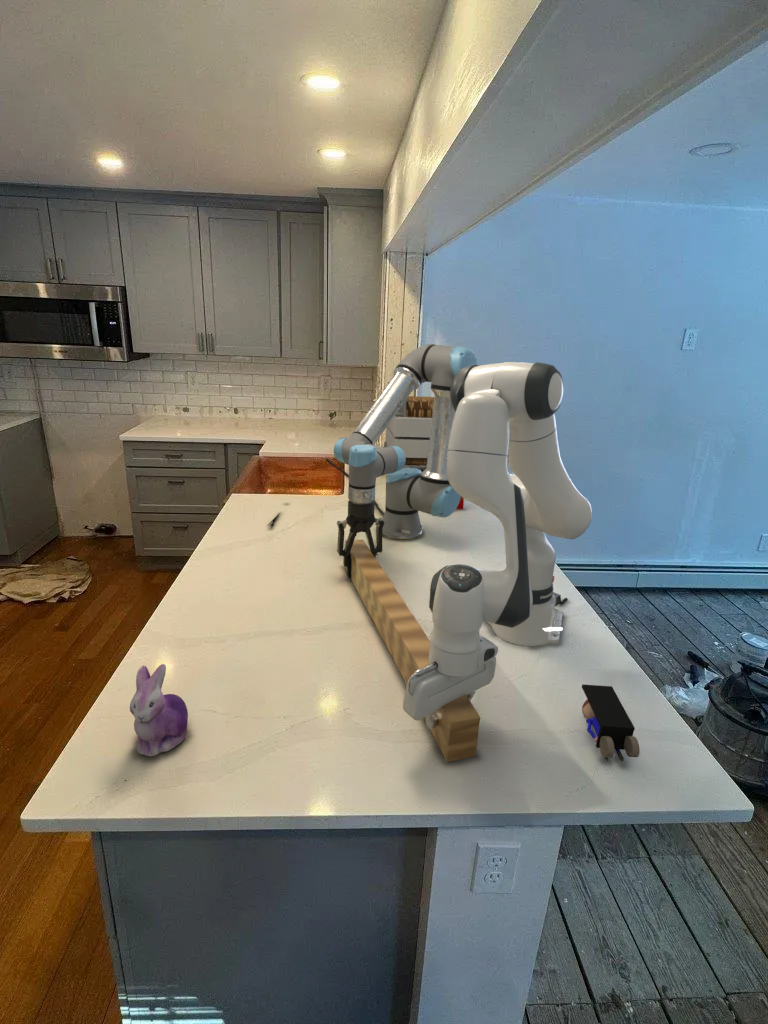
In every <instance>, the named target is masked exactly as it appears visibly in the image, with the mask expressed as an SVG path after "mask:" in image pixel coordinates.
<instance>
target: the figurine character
mask: <svg viewBox="0 0 768 1024" xmlns="http://www.w3.org/2000/svg"><path fill="white" fill-rule="evenodd" d="M581 688H582V691H583V693H584V695H585V697H586V700H585V701H584V702H583V704H582V707H581V713H582V715H583V717H584V718H585V721H586V723H587V732H588V734H589V735H590V736H591V738H592V739H593V741H594V742H595V748H596V749H599V751H600V754H601V755H602V757H603V760H605V761H606V762H609V759H613V758H614V756H615V752H616V755H617V757H618V760H619V761H620V762H624V761H625V757H624V754H623V753H622V751H624V752H625V754H626V756H627V757H628V758H639V756H640V754H641V753H640V752H641V748H640V743H639V740H638V738H637V737H636V736H634V733H635V730H636V728H635V726H634V724H633V722H632V720H631V718H630V717H629V715H628V713H627V711H626V708H625V707H624V706H623V703H622V702H621V700H620V698H619V696H618V695H617V692H616V691H615V689H614V687H613V686H611V685H598V684H581ZM592 728H593V730H594V731H593V730H592ZM621 750H622V751H621Z"/></svg>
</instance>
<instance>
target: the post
mask: <svg viewBox="0 0 768 1024" xmlns="http://www.w3.org/2000/svg"><path fill="white" fill-rule="evenodd" d="M346 542H347V540H344V546H345V545H346ZM350 556H351V578H350V580H351V582H352V584H353V586H354V588H355V589H356V591H357V593H358V595H359V598H360V599H361V602H362V603H363V605H364V607H365V609H366V611H367V612H368V615H369V616H370V618H371V620H372V622H373V624H374V626H375V627H376V629H377V631H378V633H379V636H380V637H381V639H382V641H383V643H384V644H385V647H386V649H387V651H388V652H389V654H390V656H391V658H392V660H393V662H394V664H395V666H396V667H397V670H398V671H399V674H400V676H401V677H402V679H403V681H404V683H405V685H406V686H407V683H408V680H409V678H410V677H411V676H412V675H413V674H415V671H416V670H418V669H420V668H424V667H425V666H427V665H429V664H430V663H429V648H430V638H429V637H428V635H427V634H426V633H425V630H423V628H422V626H421V625H420V623H419V622H418V621H417V619H416V617H415V616H414V614H413V612H412V611H411V610H410V608H409V607H408V605H407V604H406V602H405V601H404V599H403V598H402V596H401V594H400V592H398V590H397V589H396V587H395V585H394V584H393V583H392V581H391V579H390V578H389V576H388V575H387V573H386V572H385V570H384V569H383V567H382V565H380V563H379V561H378V560H377V557H376V558H375V557H374V555H373V554H372V552H371V551H370V547H369V545H367V543H366V542H365V540H364V539H354V542H353V545H352V548H351V551H350ZM346 568H347V567H345V566H344V569H345V570H346ZM434 717H436V718H438V723H437V724H438V725H437V726H436V727H434V728H433V729H430V728H429V727H428V729H429V731H430V733H431V734H432V736H433V738H434V741H435V742H436V744H437V746H438V748H439V750H440V752H441V753H442V755H443V757H444V759H445V761H446V763H449V762H453V761H460V760H464V759H468V758H473V757H476V755H477V747H478V740H479V731H480V726H481V725H480V724H481V715H480V714H479V713H478V711H477V709H476V708H475V706H474V705H473V704H472V702H471V701H469V699H468V698H467V696H466V695H463V696H461V697H459V698H457V699H455V700H453V701H451V702H450V703H448V704H446V705H444V706H442V708H441V709H439V710H437V711H436V712H435V714H434ZM423 719H424V721H425V722H426V717H424V718H423Z"/></svg>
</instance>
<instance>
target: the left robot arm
mask: <svg viewBox="0 0 768 1024" xmlns="http://www.w3.org/2000/svg"><path fill="white" fill-rule="evenodd" d="M472 365H479V363H478V359H477V357H476V354H475V353H474V351H473V350H472V349H471V348H468V347H464V346H459V345H457V346H455V345H444V344H443V345H441V344H434V343H433V344H432V343H429V344H424V345H421V346H418V347H416V348H415V349H413V350H412V351H410V352H409V353H408V354H406V355H405V356H404V358H402V359H401V360H400V361H399V363H398V364H397V365H396V367H395V368H394V369H393V372H392V374H393V375H392V378H391V379H390V380H389V382H388V383H387V384H386V386H385V387H384V388H383V390H382V392H381V393H380V394H379V395H378V397H377V398H376V400H374V402H373V404H372V405H371V407H370V408H369V409H368V411H367V412H366V414H365V415H364V416H363V417H362V419H361V421H360V422H359V423H358V424H357V426H356V428H354V430H353V432H352V433H350V435H349V437H341V438H339V439H338V440H336V441H335V444H334V447H333V455H334V458H335V459H336V460H337V461H338V462H340V463H343V464H345V465H348V473H347V472H346V471H344V470H343V469H342V468H340V467H338V466H337V465H336V464H334V463H333V462H331V460H329V459H328V458H325V461H326V462H327V463H328V464H329V465H331V466H333V468H335V469H337V470H338V471H340V472H341V473H342V474H344V475H345V476H347V477H348V486H347V487H348V491H347V499H348V501H347V516H346V518H345V520H342V521H341V520H338V521H336V526H337V528H338V529H337V530H338V533H337V547H336V552H337V554H338V556H339V557H341V556H342V557H343V558H342V559H343V560H342V563H343V564H342V565H343V566H344V568H345V567H347V568H346V569H345V571H346V572H345V573H346V576H347V578H348V579H351V556H350V551H351V548H352V545H353V542H354V540H356V537H357V535H358V534H359V533H365V537H366V540H367V543H368V548H369V549H370V551H371V552H372V554H373V555H374V557H375V558H376V559H377V556H378V554H379V553H380V554H381V553H383V542H384V541H383V537H385V538H387V539H389V540H395V541H410V540H415V539H418V538H420V537H421V536H422V535H423V525H422V524H421V518H420V515H419V512H420V513H421V512H422V513H425V514H426V515H427V514H428V515H430V516H433V517H438V518H443V519H444V518H448V517H450V516H451V515H452V514H453V513H454V512H455V510H457V509H456V508H457V506H458V504H459V502H460V498H461V496H460V495H459V494H458V493H457V492H456V491H455V490H454V489H453V488H452V487H451V485H450V483H449V481H448V478H447V453H448V451H450V450H448V445H449V438H450V433H451V428H452V424H453V420H454V416H455V413H456V412H455V410H454V408H453V406H452V403H451V399H450V388H451V383H452V380H453V378H454V377H455V375H456V374H457V373H458V371H459V370H460V369H462V368H465V367H468V366H472ZM424 383H430V390H431V391H432V393H433V394H434V397H435V398H434V406H433V415H432V423H431V432H430V440H429V448H428V457H427V465H426V466H425V469H423V471H422V470H421V469H420V468H416V467H405V466H406V465H405V461H406V460H405V459H406V458H405V454H404V452H403V450H402V449H401V448H400V447H398V446H388V447H384V446H381V445H377V444H376V443H377V442H378V441H379V439H380V438H381V436H382V434H384V431H386V427H387V426H388V425H389V423H390V422H391V420H392V419H393V417H394V416H395V415H396V413H397V412H398V410H399V409H400V408H401V406H402V405H403V403H404V402H405V401H406V399H407V398H408V396H411V393H412V392H413V391H416V390H418V389H419V388H420V386H421V385H422V384H424ZM403 467H404V468H403ZM382 476H386V480H385V481H386V482H385V504H384V505H385V507H384V508H385V509H384V511H383V509H381V508H380V506H379V505H378V502H376V500H375V499H376V485H377V484H376V480H377V478H379V477H382ZM375 507H376V509H375ZM375 510H378V512H379V513H380V514H381V515H382V517H379V518H376V516H375ZM347 525H348V527H349V530H348V531H349V533H348V536H347V538H346V541H347V542H346V545H345V530H346V528H347ZM373 525H375V531H376V532H375V540H376V541H375V543H374V538H373V534H372V529H371V528H372V527H373Z"/></svg>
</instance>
